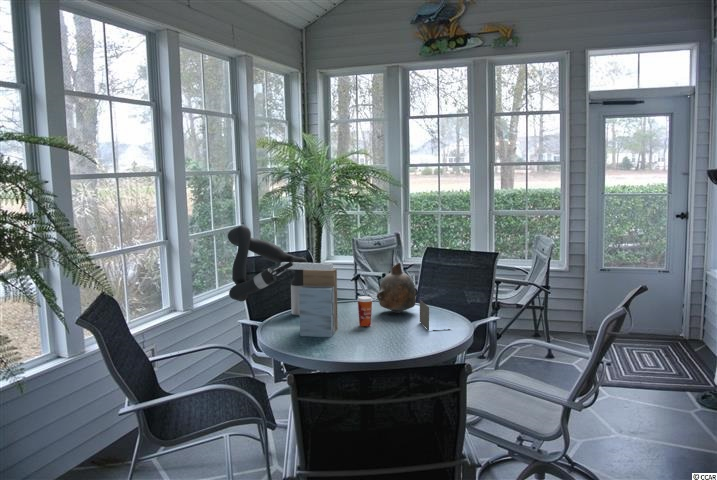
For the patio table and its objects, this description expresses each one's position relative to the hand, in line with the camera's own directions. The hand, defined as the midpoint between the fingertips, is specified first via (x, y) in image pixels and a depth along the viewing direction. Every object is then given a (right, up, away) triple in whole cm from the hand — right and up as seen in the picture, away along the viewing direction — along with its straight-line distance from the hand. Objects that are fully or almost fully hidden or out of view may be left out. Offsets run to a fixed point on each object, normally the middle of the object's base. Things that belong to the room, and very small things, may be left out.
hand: (292, 262), depth 286 cm
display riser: (+13, -36, +5) cm, 38 cm away
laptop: (+73, -35, +15) cm, 83 cm away
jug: (+55, -31, +45) cm, 78 cm away
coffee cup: (+36, -34, +19) cm, 54 cm away
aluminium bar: (+7, -3, -1) cm, 8 cm away
